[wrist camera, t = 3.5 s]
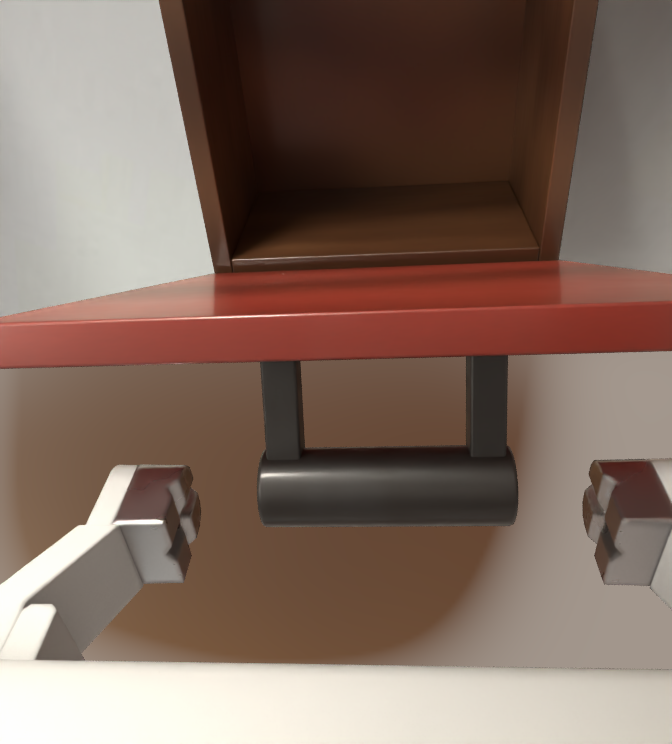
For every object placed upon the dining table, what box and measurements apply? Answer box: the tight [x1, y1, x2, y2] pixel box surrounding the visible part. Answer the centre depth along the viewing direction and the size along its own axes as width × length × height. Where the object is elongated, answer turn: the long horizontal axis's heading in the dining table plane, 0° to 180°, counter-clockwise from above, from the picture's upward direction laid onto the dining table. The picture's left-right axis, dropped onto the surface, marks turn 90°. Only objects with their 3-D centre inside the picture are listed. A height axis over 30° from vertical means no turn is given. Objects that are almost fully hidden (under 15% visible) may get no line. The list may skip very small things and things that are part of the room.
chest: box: [159, 0, 599, 273], centre depth 25 cm, size 15×14×8 cm
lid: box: [0, 260, 672, 527], centre depth 18 cm, size 16×14×5 cm
